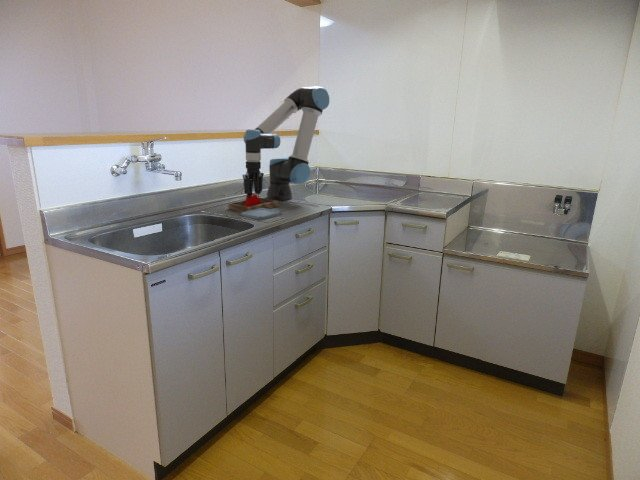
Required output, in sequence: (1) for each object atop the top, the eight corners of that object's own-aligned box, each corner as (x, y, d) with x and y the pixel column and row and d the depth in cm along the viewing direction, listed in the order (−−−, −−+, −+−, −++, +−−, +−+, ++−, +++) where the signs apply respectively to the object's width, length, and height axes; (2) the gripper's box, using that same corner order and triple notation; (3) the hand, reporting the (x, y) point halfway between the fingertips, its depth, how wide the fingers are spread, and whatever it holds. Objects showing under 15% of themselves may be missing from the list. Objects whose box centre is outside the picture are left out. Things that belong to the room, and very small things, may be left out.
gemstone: (253, 209, 209) (263, 198, 216) (238, 200, 209) (249, 189, 216) (249, 220, 216) (259, 209, 222) (235, 211, 216) (245, 200, 223)
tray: (261, 210, 214) (261, 207, 213) (281, 214, 207) (281, 211, 206) (240, 215, 202) (240, 212, 202) (260, 220, 195) (260, 217, 195)
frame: (259, 202, 233) (259, 197, 232) (278, 206, 225) (278, 200, 224) (228, 209, 215) (228, 203, 214) (248, 213, 207) (248, 207, 206)
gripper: (258, 159, 221) (258, 203, 228) (236, 161, 208) (237, 207, 215) (269, 160, 217) (269, 205, 224) (247, 162, 204) (247, 209, 211)
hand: (253, 206), depth 219 cm, fingers closed on gemstone, 3 cm apart
